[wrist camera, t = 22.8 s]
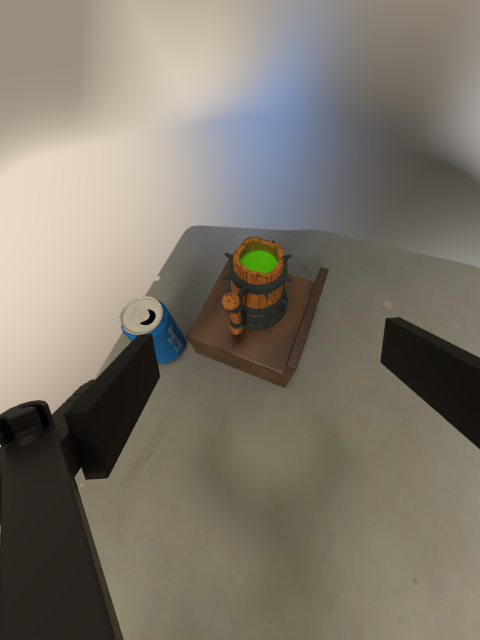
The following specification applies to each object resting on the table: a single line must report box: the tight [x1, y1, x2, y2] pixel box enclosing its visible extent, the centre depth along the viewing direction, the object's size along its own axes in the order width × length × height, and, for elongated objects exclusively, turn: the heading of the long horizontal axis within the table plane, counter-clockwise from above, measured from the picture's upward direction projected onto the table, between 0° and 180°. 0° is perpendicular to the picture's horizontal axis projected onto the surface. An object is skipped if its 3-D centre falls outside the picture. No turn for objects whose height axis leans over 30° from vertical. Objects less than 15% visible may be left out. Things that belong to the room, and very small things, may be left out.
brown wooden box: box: [187, 258, 329, 387], centre depth 40 cm, size 16×16×11 cm
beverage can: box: [120, 296, 185, 363], centre depth 39 cm, size 6×6×12 cm
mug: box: [221, 237, 294, 335], centre depth 34 cm, size 13×10×12 cm
